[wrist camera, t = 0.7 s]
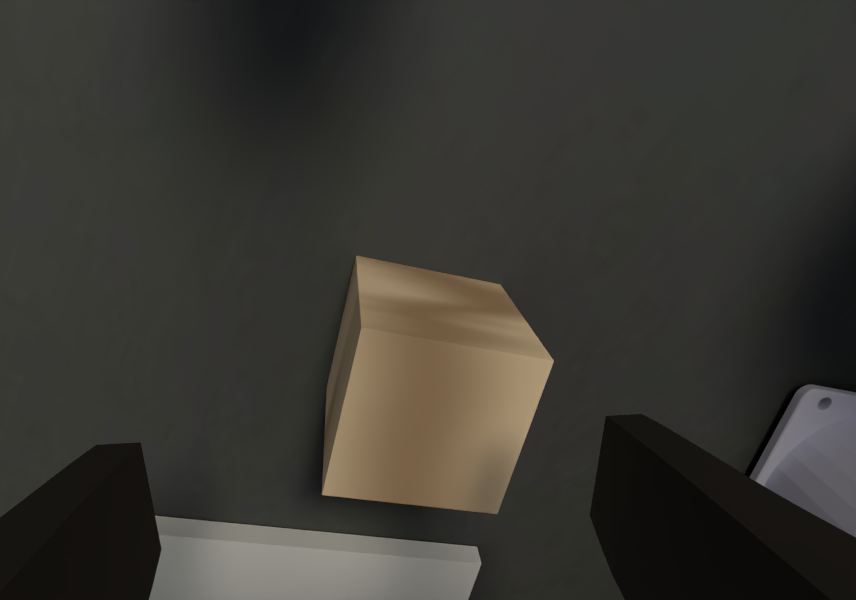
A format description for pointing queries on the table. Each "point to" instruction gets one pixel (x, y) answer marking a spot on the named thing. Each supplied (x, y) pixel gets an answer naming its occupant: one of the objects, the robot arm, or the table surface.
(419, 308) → the birch block
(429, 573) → the pad
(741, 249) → the table surface
